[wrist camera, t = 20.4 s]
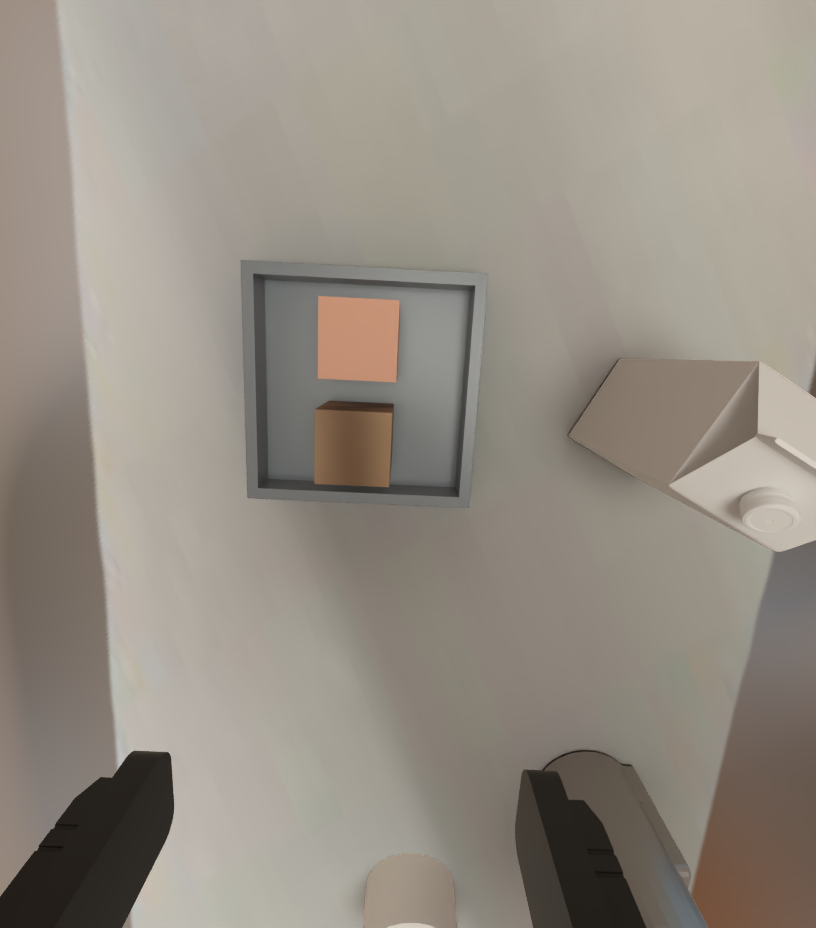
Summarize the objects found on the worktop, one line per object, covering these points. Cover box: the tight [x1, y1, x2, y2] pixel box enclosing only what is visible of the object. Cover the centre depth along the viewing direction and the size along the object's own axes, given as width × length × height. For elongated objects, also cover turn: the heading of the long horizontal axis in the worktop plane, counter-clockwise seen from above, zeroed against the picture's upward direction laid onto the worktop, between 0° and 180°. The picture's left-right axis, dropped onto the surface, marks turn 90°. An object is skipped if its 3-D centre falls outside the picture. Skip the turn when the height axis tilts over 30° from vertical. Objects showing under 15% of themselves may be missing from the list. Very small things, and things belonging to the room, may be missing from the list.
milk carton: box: [568, 359, 816, 552], centre depth 29 cm, size 7×7×19 cm
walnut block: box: [314, 400, 394, 487], centre depth 34 cm, size 5×5×6 cm
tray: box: [241, 260, 488, 508], centre depth 35 cm, size 17×17×4 cm
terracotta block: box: [318, 296, 400, 382], centre depth 33 cm, size 5×5×6 cm
